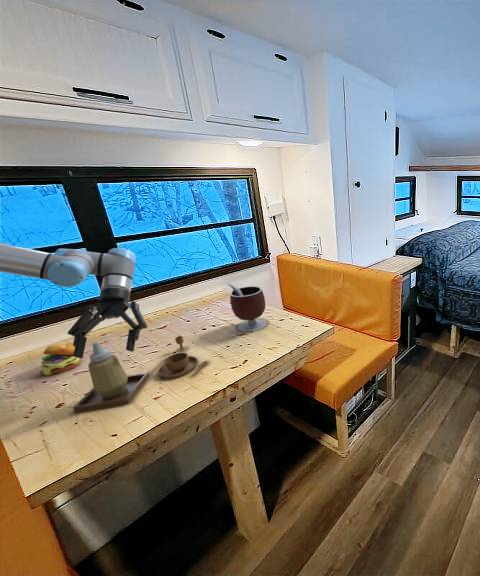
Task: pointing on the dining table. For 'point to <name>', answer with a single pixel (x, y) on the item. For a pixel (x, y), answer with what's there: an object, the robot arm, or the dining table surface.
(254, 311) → the mate gourd
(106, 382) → the squeeze bottle
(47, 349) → the cheeseburger
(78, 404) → the dark brown tray
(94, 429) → the dining table surface
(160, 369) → the place setting
